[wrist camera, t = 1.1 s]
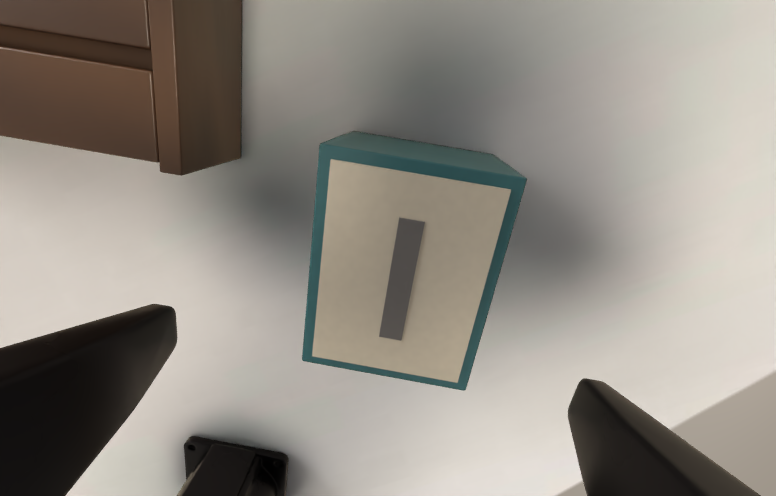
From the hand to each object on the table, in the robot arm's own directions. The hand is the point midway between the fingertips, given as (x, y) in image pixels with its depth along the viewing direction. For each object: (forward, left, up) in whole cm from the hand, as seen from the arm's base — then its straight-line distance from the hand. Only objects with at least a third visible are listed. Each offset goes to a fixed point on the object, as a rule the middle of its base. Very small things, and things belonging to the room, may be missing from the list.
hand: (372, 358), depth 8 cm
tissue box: (0, 0, -10) cm, 10 cm away
